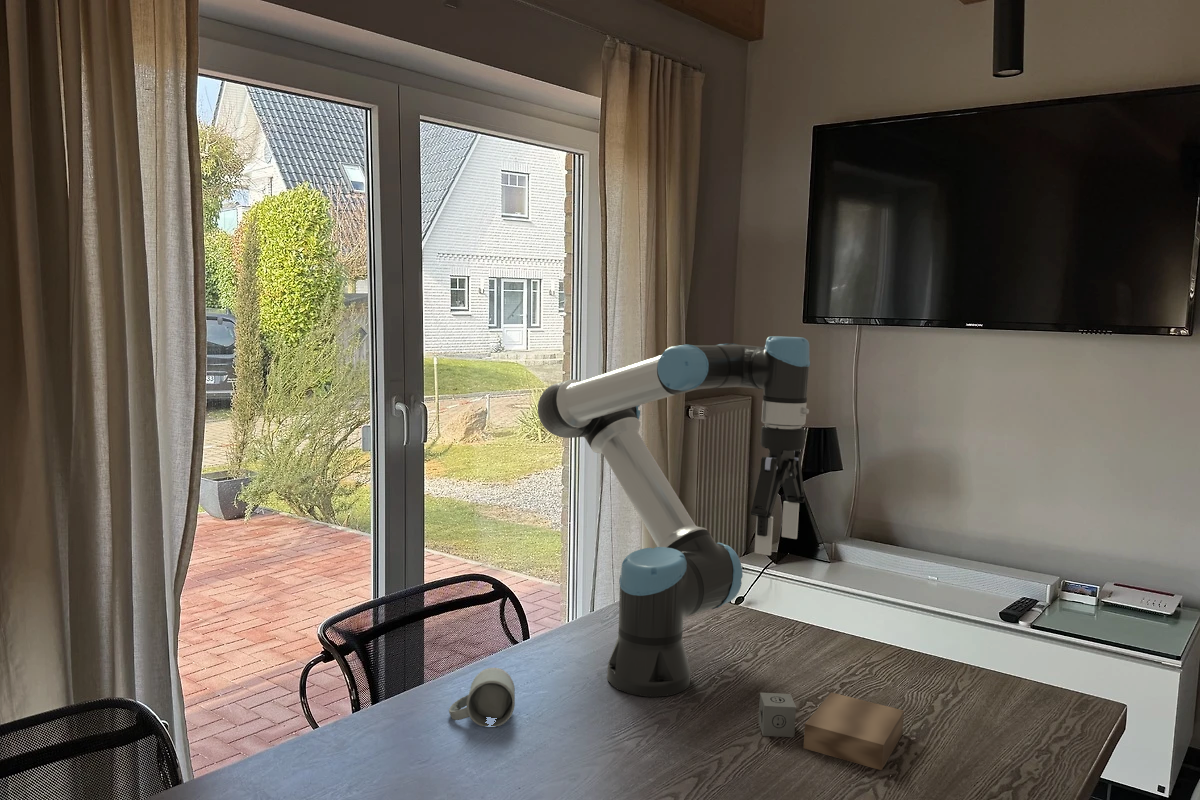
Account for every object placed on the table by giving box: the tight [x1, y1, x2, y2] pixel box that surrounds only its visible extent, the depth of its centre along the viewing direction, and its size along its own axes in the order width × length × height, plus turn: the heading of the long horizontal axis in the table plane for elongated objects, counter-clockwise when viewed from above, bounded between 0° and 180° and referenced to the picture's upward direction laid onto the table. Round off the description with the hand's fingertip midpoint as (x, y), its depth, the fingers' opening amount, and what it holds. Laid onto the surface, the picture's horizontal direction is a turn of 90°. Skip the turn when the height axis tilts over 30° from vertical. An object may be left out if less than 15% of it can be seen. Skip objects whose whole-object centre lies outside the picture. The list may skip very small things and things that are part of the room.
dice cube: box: [758, 692, 797, 738], centre depth 147 cm, size 5×5×5 cm
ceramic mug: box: [448, 667, 516, 727], centre depth 148 cm, size 11×8×8 cm
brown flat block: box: [803, 691, 905, 771], centre depth 144 cm, size 12×14×4 cm
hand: (776, 545), depth 159 cm, fingers open, 13 cm apart
